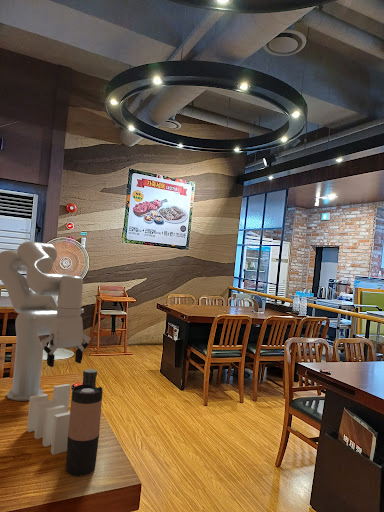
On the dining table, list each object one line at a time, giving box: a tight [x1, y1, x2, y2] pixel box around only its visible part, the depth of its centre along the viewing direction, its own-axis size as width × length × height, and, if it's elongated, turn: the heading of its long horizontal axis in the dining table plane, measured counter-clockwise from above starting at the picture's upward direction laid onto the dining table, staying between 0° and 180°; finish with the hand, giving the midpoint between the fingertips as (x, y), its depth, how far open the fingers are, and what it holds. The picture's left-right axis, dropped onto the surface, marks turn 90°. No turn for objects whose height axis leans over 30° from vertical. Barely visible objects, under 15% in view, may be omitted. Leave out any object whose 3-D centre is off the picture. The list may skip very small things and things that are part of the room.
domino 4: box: [41, 405, 65, 447], centre depth 108 cm, size 2×5×10 cm, turn 134°
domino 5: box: [50, 411, 70, 456], centre depth 104 cm, size 2×5×10 cm, turn 134°
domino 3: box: [52, 383, 71, 413], centre depth 127 cm, size 2×5×10 cm, turn 134°
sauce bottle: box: [81, 368, 98, 388], centre depth 112 cm, size 6×6×20 cm
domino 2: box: [33, 398, 56, 440], centre depth 112 cm, size 2×5×10 cm, turn 135°
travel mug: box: [65, 384, 103, 477], centre depth 96 cm, size 8×8×20 cm
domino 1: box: [26, 393, 49, 433], centre depth 116 cm, size 2×5×10 cm, turn 134°
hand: (64, 364), depth 126 cm, fingers open, 9 cm apart
